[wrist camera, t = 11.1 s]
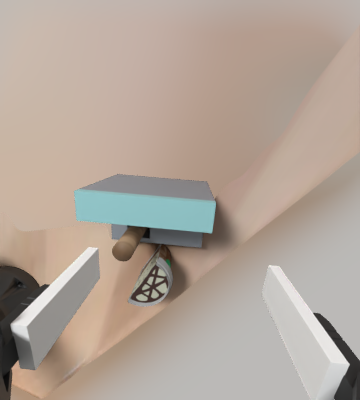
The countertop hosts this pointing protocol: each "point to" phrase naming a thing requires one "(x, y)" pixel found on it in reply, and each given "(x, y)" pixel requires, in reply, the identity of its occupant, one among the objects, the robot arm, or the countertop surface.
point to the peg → (128, 243)
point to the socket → (150, 207)
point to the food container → (153, 279)
